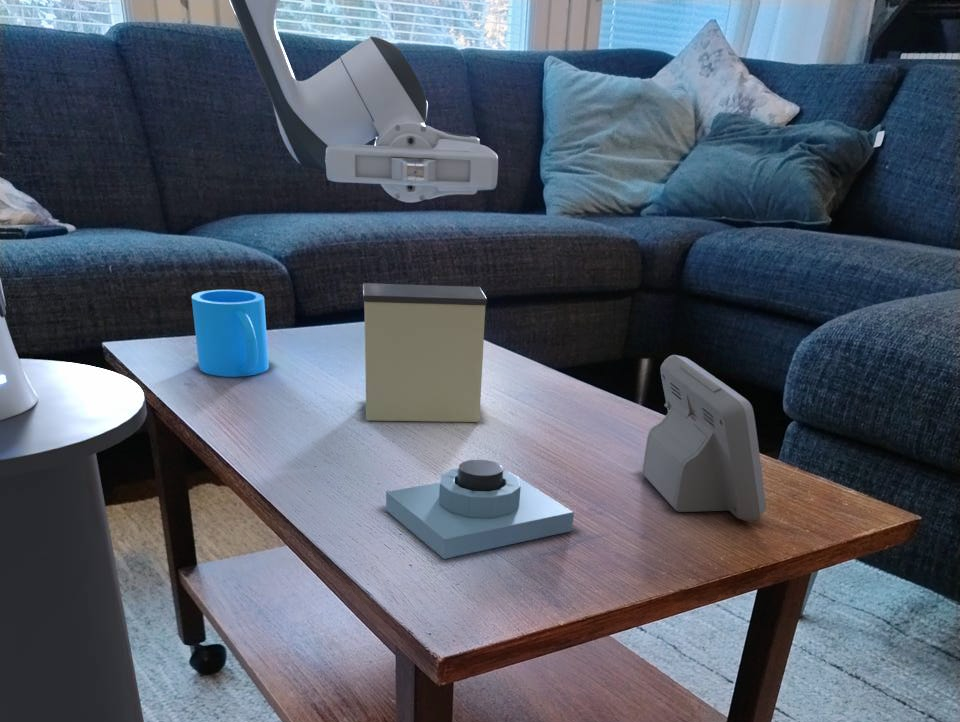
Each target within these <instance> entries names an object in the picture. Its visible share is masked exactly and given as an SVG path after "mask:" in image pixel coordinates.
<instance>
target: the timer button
mask: <svg viewBox="0 0 960 722" xmlns="http://www.w3.org/2000/svg"><path fill="white" fill-rule="evenodd" d="M457 468H458V486H459V487H461V488H464V489H468V490H472V491H493V490H499V489H501V488H502V480H503V471H504V468H503V466H502V465H501V464H500V463H497V462H495V461H492V460H487V459H469V460H465V461H463V462H461V463H459V465H458V467H457Z"/></svg>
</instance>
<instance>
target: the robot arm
mask: <svg viewBox="0 0 960 722" xmlns="http://www.w3.org/2000/svg"><path fill="white" fill-rule="evenodd" d="M280 1H281V0H229V3H230V5H231V8H232V10H233V13H234V16H235V21H236V23H237V24H238V27H239V30H240V32H241V35H242V36H243V39H244V41H245V44H246V46H247V49H248V50H249V53H250V55H251V58H252V60H253V62H254V65H255V67H256V70H257V72H258V73H259V77H260V79H261V81H262V83H263V86H264V88H265V90H266V91H267V93H268V96H269V99H270V101H271V103H272V107H273V110H274V115H275V118H276V124H277V126H278V130H279V133H280V135H281V138H282V141H283V143H284V145H285V147H286V149H287V150H288V152H289V154H290V155H291V157H292V158H293V159H294V160H295V161H296V162H297V163H298V165H300V166H301V168H304V169H307V170H310V171H314V172H321V173H326V179H327V180H328V181H330V182H335V183H347V184H348V183H349V184H350V183H352V184H371V185H380V186H381V187H382V188H383V190H384V191H385V192H386V193H387V194H388V195H389V196H391V197H392V198H394V199H396V200H398V201H400V202H403V203H418V202H423V201H424V200H432V199H435V198H436V199H437V198H439V197H449V196H468V195H475V194H477V193H478V191H492V190H495V189H496V188H497V185H498V175H499V156H498V154H497V153H496V152H495V151H494V150H492V149H491V148H490V147H488V146H486V145H483V144H481V142H480V138H478V137H477V136H471V135H467V134H460V133H459V134H458V133H452V132H448V131H441V130H439V129H436V128H434V127H432V126H430V125H426V124H425V123H426V122H427V119H428V118H427V117H428V108H429V107H428V106H429V104H428V100H427V97H426V95H425V92H424V90H423V88H422V84H421V83H420V80H419V79H418V77H417V75H416V73H415V72H414V69H413V68H412V66H411V65H410V63H409V61H408V60H407V59H406V57H405V56H404V55H403V53H402V52H401V51H400V49H399V48H398V47H397V46H396V45H395V44H393V43H391V42H389V41H387V40H385V39H383V38H380V37H377V36H369V37H367V38H366V39H364V40H363V41H361V42H360V43H358V44H357V45H355V46H354V47H352V48H351V49H349V50H348V51H346V52H345V53H344V54H342V55H340V56H339V58H338V59H336V60H335V61H333V62H331V63H330V64H328V65H327V66H326V67H324V68H323V69H321V70H319V71H318V72H317V73H315V74H314V75H312V76H311V77H309V78H307V79H305V80H298V79H297V78H296V76H295V74H294V71H293V69H292V66H291V64H290V61H289V58H288V55H287V53H286V51H285V48H284V45H283V43H282V40H281V38H280V35H279V32H278V29H277V25H276V16H277V15H276V14H277V10H278V6H279V3H280ZM374 139H375V141H374V144H368V143H370V142H371V141H372V140H374ZM1 279H2V278H0V421H1V420H4V419H7V418H10V417H13V416H15V415H18V414H21V413H23V412H25V411H27V410H28V409H30V408H31V407H33V406H34V405H35V404H36V403H37V400H38V397H37V395H36V393H35V391H34V390H33V388H32V386H31V384H30V382H29V380H28V378H27V376H26V374H25V372H24V370H23V367H22V365H21V363H20V360H19V359H20V358H19V356H18V355H19V354H18V353H17V350H16V348H15V345H14V342H13V340H12V335H11V334H10V330H9V327H8V323H7V320H6V317H5V316H6V314H7V311H6V307H7V305H6V299H5V294H4V288H3V283H2V280H1Z"/></svg>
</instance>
